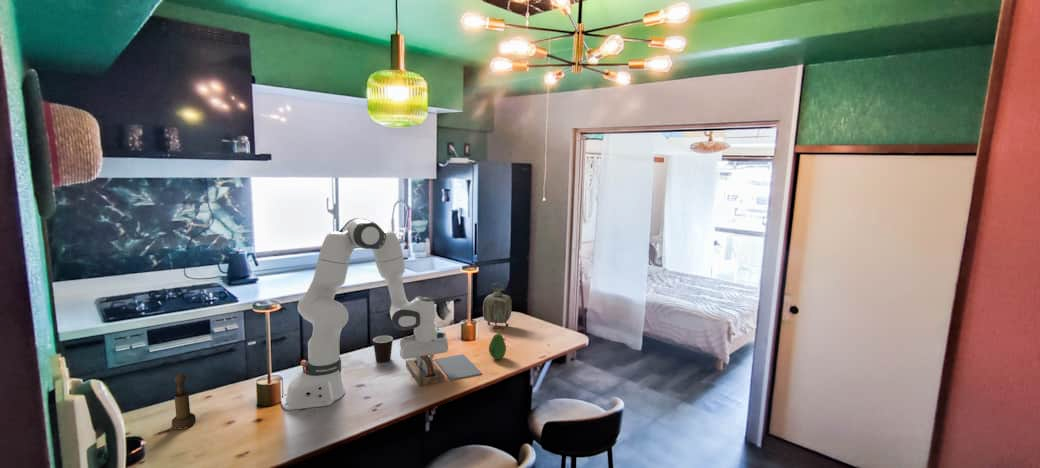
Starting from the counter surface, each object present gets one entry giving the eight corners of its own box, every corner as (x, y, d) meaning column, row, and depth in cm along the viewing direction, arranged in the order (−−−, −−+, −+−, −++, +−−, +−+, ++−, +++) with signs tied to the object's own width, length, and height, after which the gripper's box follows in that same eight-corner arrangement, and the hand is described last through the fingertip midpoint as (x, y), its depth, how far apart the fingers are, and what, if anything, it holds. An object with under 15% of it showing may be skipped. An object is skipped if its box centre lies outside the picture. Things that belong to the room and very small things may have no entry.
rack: (419, 386, 194) (419, 380, 194) (406, 365, 213) (406, 360, 212) (444, 381, 199) (444, 375, 199) (429, 361, 218) (429, 356, 217)
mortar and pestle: (169, 431, 158) (165, 380, 156) (174, 421, 164) (170, 372, 161) (193, 427, 161) (189, 377, 158) (197, 417, 167) (193, 369, 164)
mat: (451, 380, 200) (451, 379, 200) (434, 360, 219) (434, 359, 219) (481, 374, 207) (481, 373, 207) (463, 355, 226) (463, 354, 226)
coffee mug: (387, 365, 213) (387, 343, 211) (369, 362, 215) (369, 341, 213) (399, 354, 224) (399, 334, 223) (382, 352, 226) (381, 332, 224)
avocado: (503, 354, 228) (503, 330, 226) (507, 361, 221) (508, 336, 219) (486, 356, 226) (487, 331, 224) (491, 363, 218) (491, 338, 216)
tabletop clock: (511, 326, 267) (512, 282, 263) (507, 331, 258) (508, 286, 254) (486, 323, 270) (487, 280, 266) (481, 328, 262) (482, 284, 258)
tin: (434, 379, 200) (434, 360, 199) (427, 381, 199) (427, 362, 197) (421, 365, 213) (421, 348, 212) (415, 367, 211) (415, 349, 210)
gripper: (401, 340, 196) (402, 372, 198) (449, 333, 205) (449, 363, 207) (398, 335, 201) (398, 366, 203) (444, 328, 211) (444, 358, 213)
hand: (424, 364), depth 205 cm, fingers closed on tin, 3 cm apart
